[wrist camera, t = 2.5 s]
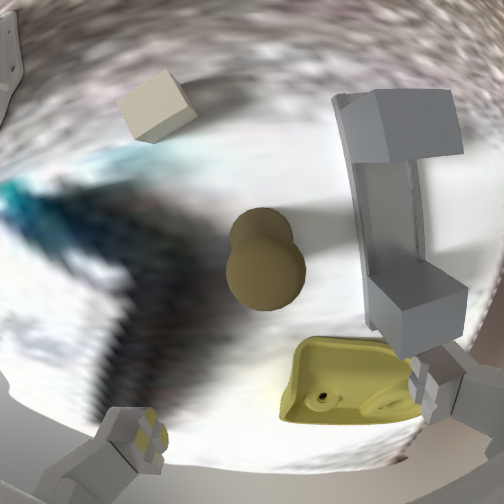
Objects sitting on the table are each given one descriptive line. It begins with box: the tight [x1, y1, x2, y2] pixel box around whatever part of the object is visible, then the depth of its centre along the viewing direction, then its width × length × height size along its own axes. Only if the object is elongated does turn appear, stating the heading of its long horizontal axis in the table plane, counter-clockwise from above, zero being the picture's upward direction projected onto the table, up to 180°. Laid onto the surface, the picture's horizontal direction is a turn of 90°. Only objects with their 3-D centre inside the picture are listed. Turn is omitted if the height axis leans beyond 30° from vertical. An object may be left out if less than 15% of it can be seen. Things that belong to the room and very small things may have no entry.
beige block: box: [116, 69, 199, 144], centre depth 22 cm, size 4×5×5 cm
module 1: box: [339, 89, 464, 163], centre depth 20 cm, size 5×7×8 cm
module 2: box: [367, 261, 468, 361], centre depth 24 cm, size 5×7×8 cm
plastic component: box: [279, 337, 421, 425], centre depth 31 cm, size 20×7×10 cm
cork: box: [226, 208, 306, 311], centre depth 23 cm, size 6×6×11 cm
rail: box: [331, 92, 425, 331], centre depth 26 cm, size 24×7×2 cm, turn 13°
